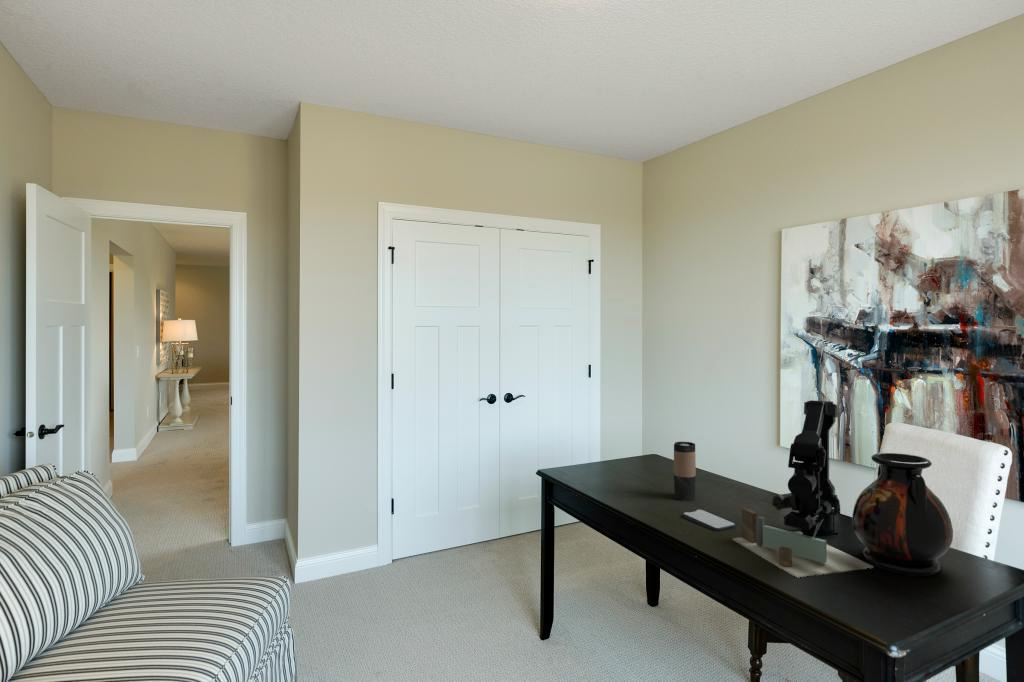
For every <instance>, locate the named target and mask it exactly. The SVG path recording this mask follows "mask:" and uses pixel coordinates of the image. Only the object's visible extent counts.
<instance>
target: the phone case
mask: <svg viewBox="0 0 1024 682" xmlns="http://www.w3.org/2000/svg"><path fill="white" fill-rule="evenodd" d="M681 515H682V516H683V517H685V518H684V519H686V518H687V519H686V520H688V519H689V520H688V521H690V520H691V522H693V521H694V522H693V523H695V522H696V523H695V524H697V523H698V524H697V525H700V524H701V525H700V526H702V527H704V526H705V528H706V529H709V530H711V531H714V532H723V531H728V530H733V529H736V528H737V524H736V523H734V522H732V521H730V520H727V519H726V518H722V517H720V516H718V515H715V514H713V513H710V512H709V511H706V510H703V509H694V510H689V511H685V512H682V514H681ZM682 516H681V517H682ZM683 517H682V518H683Z"/></svg>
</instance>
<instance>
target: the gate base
mask: <svg viewBox="0 0 1024 682" xmlns="http://www.w3.org/2000/svg"><path fill="white" fill-rule="evenodd" d="M741 510H742V513H741V515H742V516H741V518H742V520H741V521H742V522H741V523H742V525H741V528H742V529H741V532H742V535H741V536H742V537H736V538H732V541H733V542H735V543H737V544H738V545H740V546H742V547H743V548H745V549H747V550H749V551H751V552H752V553H754V554H756V555H757V556H758V557H760V556H761V558H762V559H764V560H765V561H767V562H769V563H771V564H772V565H774V566H776V567H777V568H779V569H780V570H782V569H783V570H782V571H784V572H786V573H788V574H789V575H790V576H792V577H794V576H795V578H796V577H797V578H796V579H801V578H808V577H807V576H809V577H815V575H816V576H822V575H823V574H824V575H830V574H839V573H846V572H853V570H854V571H860V569H861V570H868V569H867V568H869V569H874V568H875V567H874V566H875V565H874V566H873V564H871V563H870V564H869V563H868V562H865V561H863V560H861V559H859V558H857V557H856V556H852V554H851V555H850V554H849V553H847V552H844V551H842V550H840V549H838V548H835V547H834V546H831V545H830V544H828V543H827V562H826V563H821V562H817V561H814V560H810V559H807V558H803V557H800V556H796V555H792V567H783V566H780V565H779V551H778V550H775V549H771V548H768V547H764V546H759V545H757V544H756V517H758V513H757V512H755V511H754V510H752V509H749V508H747V507H745V508H744V507H743V508H742V509H741ZM794 532H795V533H799V534H803V533H802V531H800V530H798V531H794ZM824 575H823V576H824ZM800 577H801V578H800Z"/></svg>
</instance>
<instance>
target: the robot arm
mask: <svg viewBox="0 0 1024 682" xmlns="http://www.w3.org/2000/svg"><path fill="white" fill-rule="evenodd" d="M803 404H804V405H803V415H805V417H804V421H803V427H802V431H801V432H800V433H799V434H797V435H795V437H794V440H793V443H791V444H790V449H789V456H788V457H789V458H788V464H787V467H788V468H791V469H794V470H793V471H794V472H793V474H792V476H791V477H790V478H789V479H788V482H787V489H788V490H789V493H782V494H778V495H777V494H776V495H774V496H773V498H772V499H771V500H772V503H771V505H772V506H774V507H775V509H776V510H777V511H780V510H785V509H790V508H791V511H790V512H789V513H787V514H786V515H785V516H783V525H784V526H787V527H791V528H796V529H800V530H801V532H802V533H803V535H807V536H811V537H815V538H816V535H819V536H828V535H829V536H830V535H838V534H840V533H839V531H837V530H835V516H837V515H838V516H839V515H841V503H840V502H841V501H840V500H839V498H838V494H836V488H835V485H834V484H833V483H832V481H831V479H830V430H831V429H832V427H833V426H834V425H835V423H836V419H837V418H838V415H839V406H838V405H837V404H835V403H834V401H831V400H829V401H827V400H813V399H812V400H811V399H810V400H807V401H804V403H803Z"/></svg>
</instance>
